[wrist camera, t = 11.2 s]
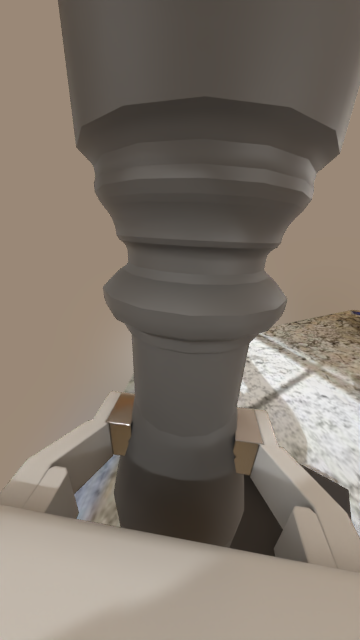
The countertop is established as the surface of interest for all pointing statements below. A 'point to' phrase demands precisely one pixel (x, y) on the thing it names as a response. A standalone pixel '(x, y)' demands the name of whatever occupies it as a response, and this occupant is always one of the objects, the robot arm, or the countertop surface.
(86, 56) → the candle holder
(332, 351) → the countertop surface
